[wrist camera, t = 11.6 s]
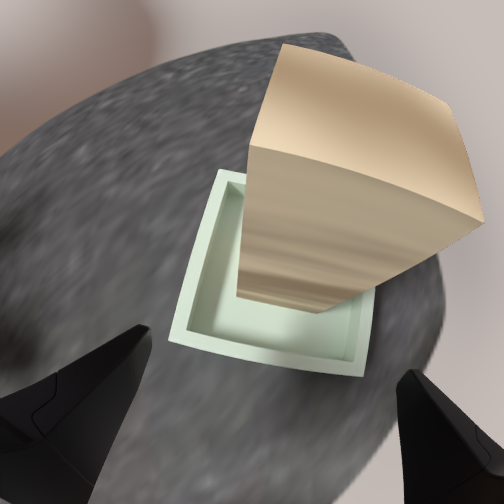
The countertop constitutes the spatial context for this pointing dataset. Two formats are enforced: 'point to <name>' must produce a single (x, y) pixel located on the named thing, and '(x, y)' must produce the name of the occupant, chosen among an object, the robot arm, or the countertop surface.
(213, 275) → the green tray
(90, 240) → the countertop surface
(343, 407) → the countertop surface
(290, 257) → the beech block
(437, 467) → the robot arm
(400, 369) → the countertop surface
